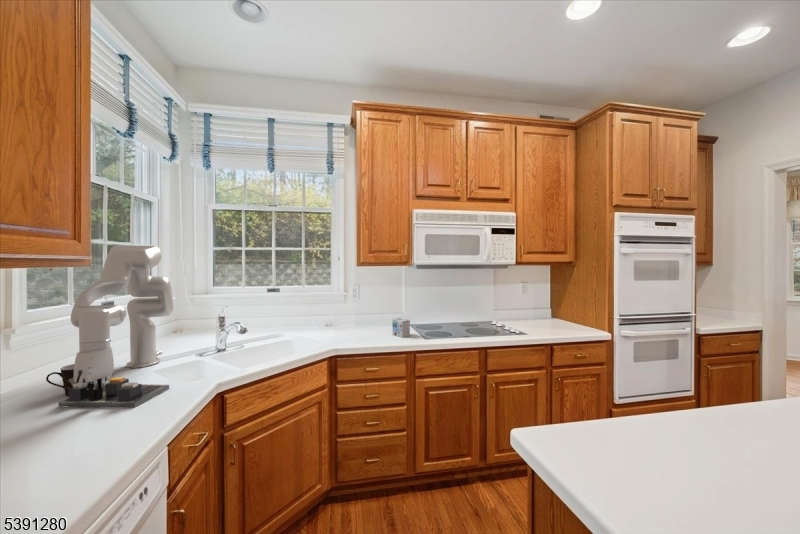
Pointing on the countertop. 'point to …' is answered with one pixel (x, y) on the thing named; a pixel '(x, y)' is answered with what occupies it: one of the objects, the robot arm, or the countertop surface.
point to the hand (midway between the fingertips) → (95, 399)
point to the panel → (114, 396)
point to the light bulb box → (401, 327)
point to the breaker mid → (115, 385)
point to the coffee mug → (65, 378)
